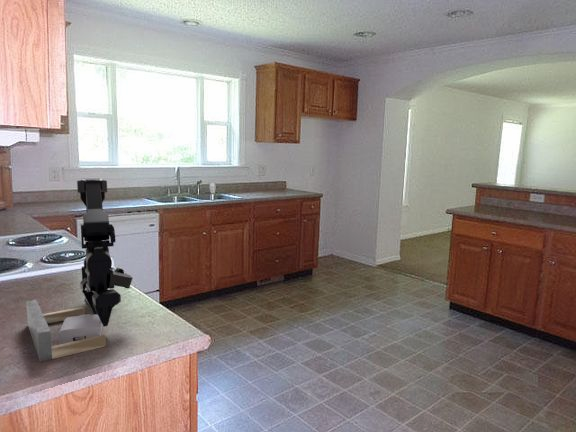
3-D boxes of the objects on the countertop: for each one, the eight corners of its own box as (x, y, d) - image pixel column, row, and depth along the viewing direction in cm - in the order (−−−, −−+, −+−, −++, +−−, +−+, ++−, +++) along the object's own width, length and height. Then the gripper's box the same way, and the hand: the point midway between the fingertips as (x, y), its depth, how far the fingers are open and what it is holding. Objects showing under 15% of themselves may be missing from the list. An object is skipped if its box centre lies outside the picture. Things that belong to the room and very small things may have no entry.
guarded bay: (27, 325, 118) (26, 301, 117) (84, 314, 127) (83, 292, 126) (39, 361, 99) (37, 333, 97) (106, 346, 107) (104, 319, 106)
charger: (104, 321, 123) (99, 343, 109) (68, 325, 120) (59, 348, 106) (103, 306, 122) (99, 326, 108) (67, 309, 119) (58, 330, 105)
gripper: (139, 268, 113) (141, 324, 115) (119, 254, 127) (121, 304, 130) (94, 275, 106) (97, 334, 108) (78, 260, 121) (81, 312, 123)
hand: (101, 320), depth 118 cm, fingers open, 9 cm apart
